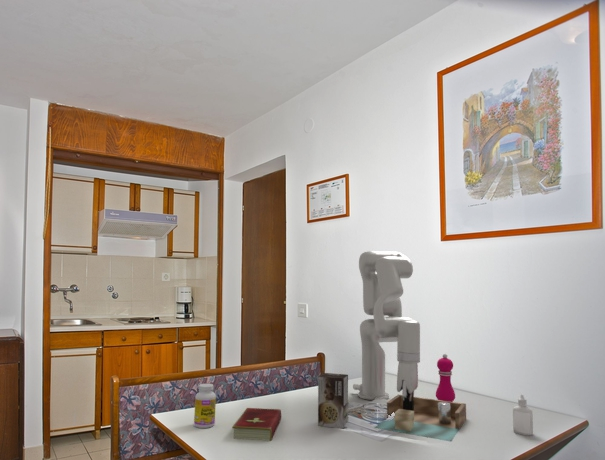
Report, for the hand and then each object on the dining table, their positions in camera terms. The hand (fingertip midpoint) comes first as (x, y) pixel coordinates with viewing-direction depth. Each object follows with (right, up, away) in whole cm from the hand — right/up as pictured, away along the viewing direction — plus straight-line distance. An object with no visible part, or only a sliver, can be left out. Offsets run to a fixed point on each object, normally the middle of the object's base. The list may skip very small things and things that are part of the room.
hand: (408, 412), depth 159 cm
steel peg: (+12, -3, -1) cm, 13 cm away
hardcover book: (-50, -3, -7) cm, 50 cm away
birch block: (-3, -2, -7) cm, 8 cm away
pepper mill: (+19, -7, +22) cm, 29 cm away
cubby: (+4, -4, -2) cm, 6 cm away
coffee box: (-26, -4, -2) cm, 26 cm away
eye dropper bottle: (+35, -4, -7) cm, 36 cm away
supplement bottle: (-68, -3, -5) cm, 68 cm away
